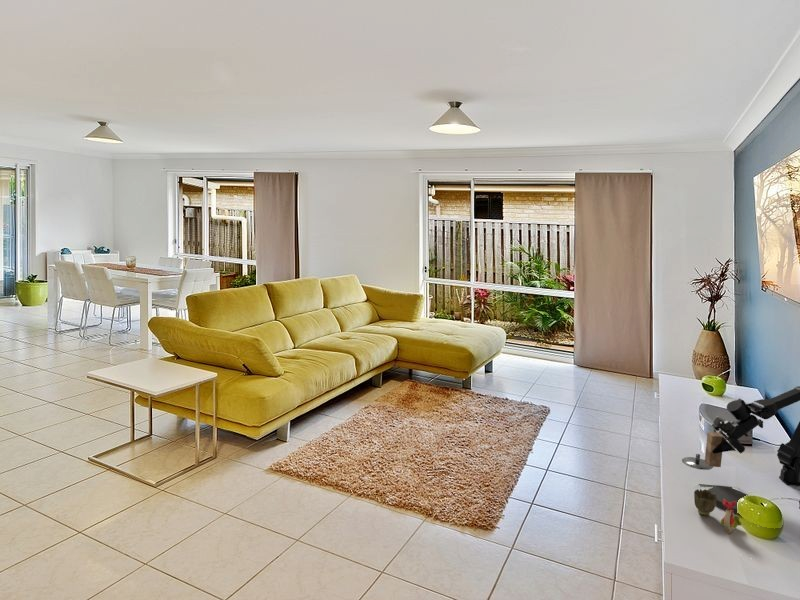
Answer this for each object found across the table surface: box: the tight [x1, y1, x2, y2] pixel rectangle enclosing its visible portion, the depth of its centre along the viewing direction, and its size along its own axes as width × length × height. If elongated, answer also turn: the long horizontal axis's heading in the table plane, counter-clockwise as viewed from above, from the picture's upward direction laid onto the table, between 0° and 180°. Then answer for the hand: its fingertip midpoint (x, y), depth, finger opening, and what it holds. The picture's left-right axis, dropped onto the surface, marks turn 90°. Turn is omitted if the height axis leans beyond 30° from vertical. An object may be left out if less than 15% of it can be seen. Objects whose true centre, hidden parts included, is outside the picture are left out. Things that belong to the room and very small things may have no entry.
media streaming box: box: [706, 486, 748, 514], centre depth 203 cm, size 15×15×3 cm
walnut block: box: [704, 431, 725, 468], centre depth 217 cm, size 4×4×13 cm
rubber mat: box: [698, 483, 733, 488], centre depth 218 cm, size 12×10×1 cm
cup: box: [693, 488, 718, 517], centre depth 194 cm, size 8×7×8 cm
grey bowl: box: [681, 453, 714, 471], centre depth 233 cm, size 12×12×5 cm
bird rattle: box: [720, 499, 743, 534], centre depth 184 cm, size 6×11×9 cm
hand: (710, 450), depth 217 cm, fingers closed on walnut block, 4 cm apart
